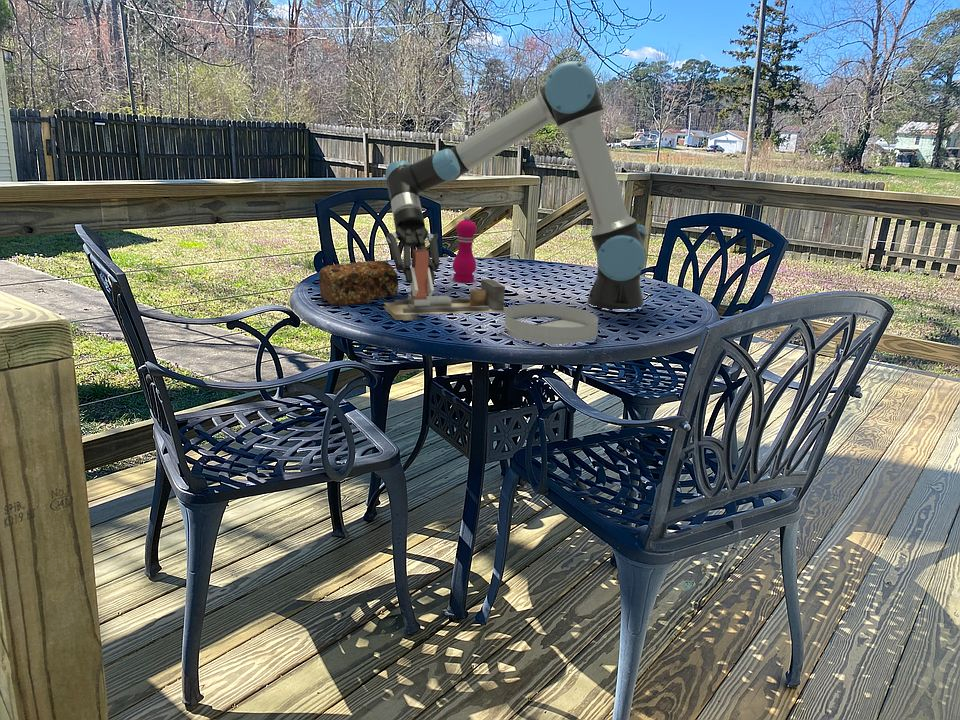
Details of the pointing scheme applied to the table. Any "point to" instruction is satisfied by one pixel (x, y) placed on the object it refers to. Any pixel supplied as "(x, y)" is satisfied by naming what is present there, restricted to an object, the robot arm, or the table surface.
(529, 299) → the table surface
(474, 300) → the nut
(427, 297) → the carriage
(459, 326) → the table surface
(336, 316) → the table surface
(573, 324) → the dish
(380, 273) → the bread
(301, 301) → the table surface
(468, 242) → the pepper mill
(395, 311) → the board
